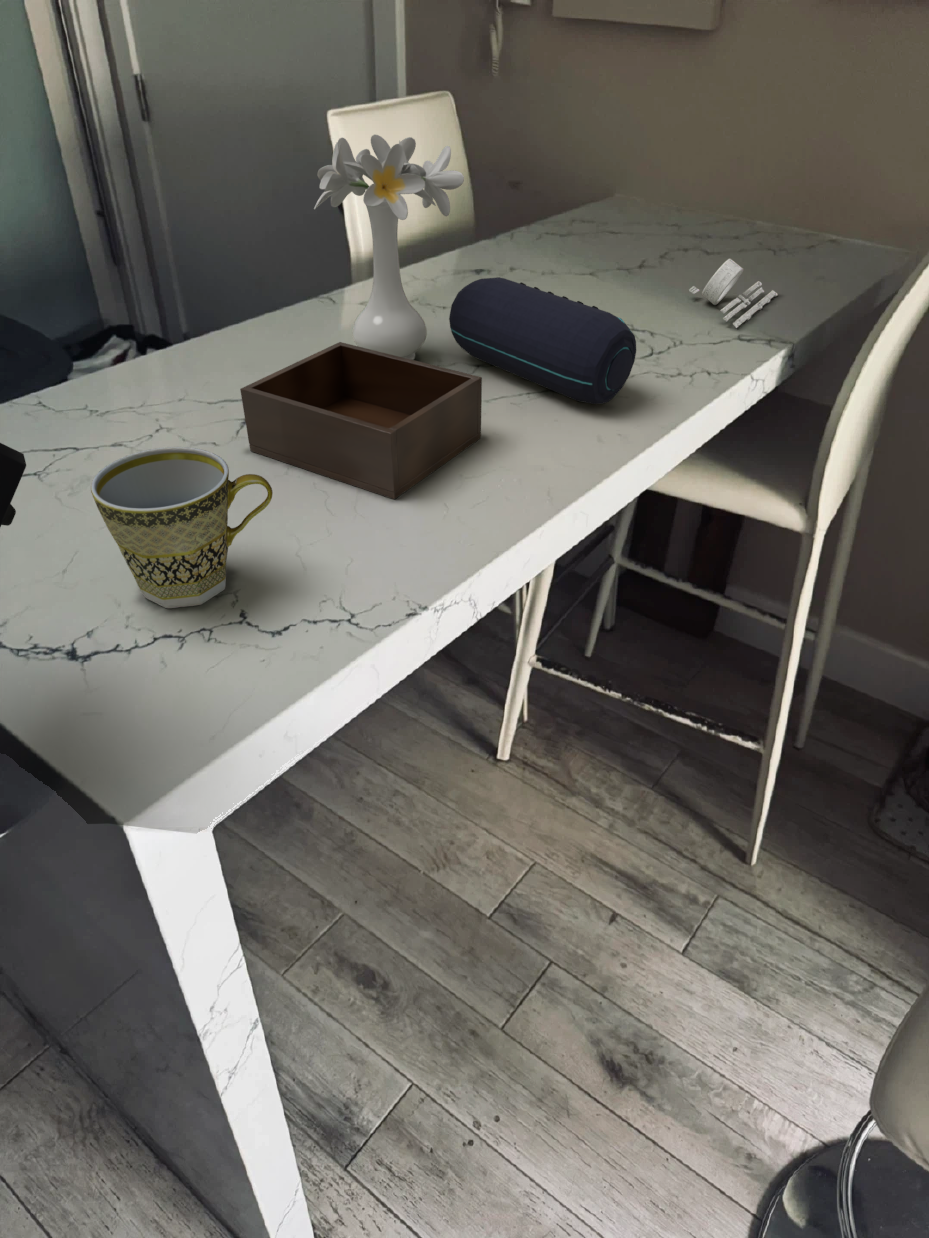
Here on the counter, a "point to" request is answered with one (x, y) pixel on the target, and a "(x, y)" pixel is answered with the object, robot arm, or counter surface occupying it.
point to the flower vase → (388, 231)
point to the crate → (364, 417)
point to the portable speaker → (544, 338)
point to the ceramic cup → (173, 520)
